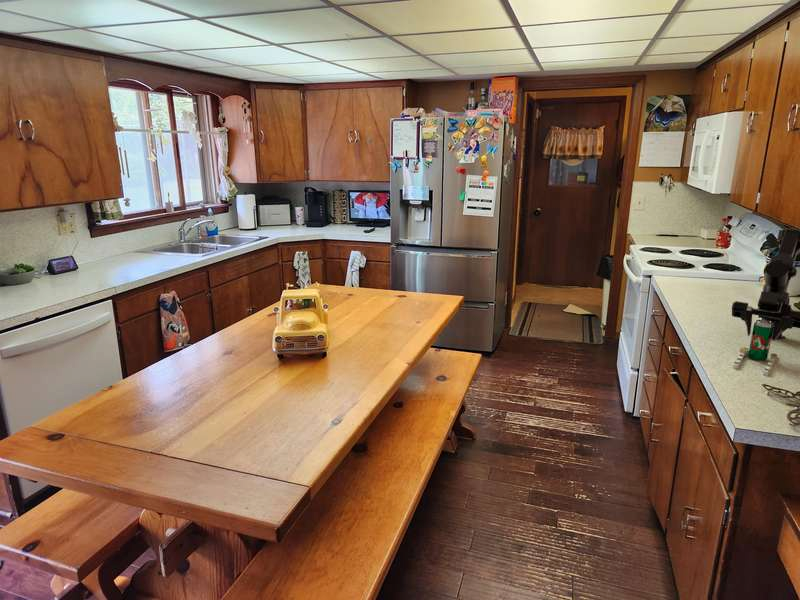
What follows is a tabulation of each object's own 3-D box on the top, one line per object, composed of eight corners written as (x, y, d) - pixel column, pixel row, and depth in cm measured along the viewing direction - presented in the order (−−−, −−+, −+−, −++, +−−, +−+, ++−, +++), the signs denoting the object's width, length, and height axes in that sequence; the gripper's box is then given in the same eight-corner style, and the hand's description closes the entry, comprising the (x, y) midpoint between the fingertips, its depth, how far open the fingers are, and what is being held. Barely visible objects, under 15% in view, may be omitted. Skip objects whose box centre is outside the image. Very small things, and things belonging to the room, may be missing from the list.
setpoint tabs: (740, 350, 167) (741, 347, 166) (776, 358, 161) (777, 355, 160) (739, 352, 165) (739, 349, 165) (775, 359, 159) (776, 356, 159)
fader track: (744, 349, 171) (745, 345, 170) (776, 356, 165) (777, 351, 165) (732, 368, 156) (733, 363, 156) (767, 375, 151) (768, 371, 150)
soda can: (761, 355, 166) (768, 319, 162) (770, 362, 161) (778, 324, 157) (744, 355, 166) (751, 318, 163) (752, 361, 161) (760, 324, 158)
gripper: (738, 276, 165) (725, 317, 160) (812, 286, 154) (801, 331, 149) (738, 295, 173) (725, 335, 168) (809, 306, 162) (798, 349, 157)
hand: (760, 337), depth 160 cm, fingers open, 6 cm apart
